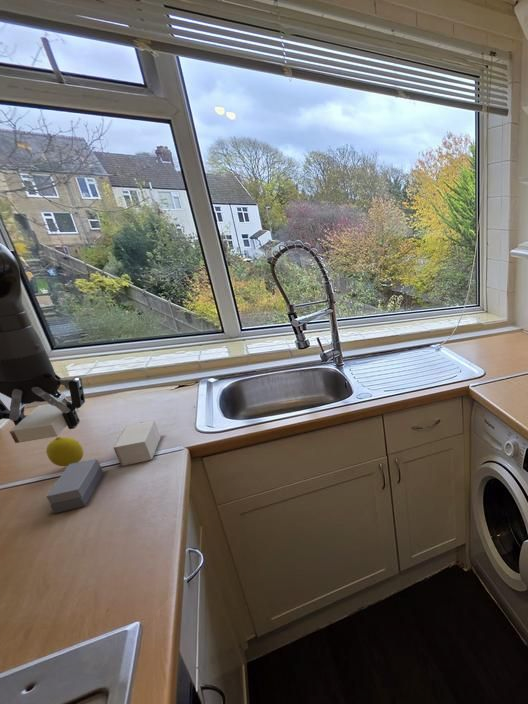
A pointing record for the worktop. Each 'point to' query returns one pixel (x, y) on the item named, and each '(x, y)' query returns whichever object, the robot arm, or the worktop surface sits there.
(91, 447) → the worktop surface
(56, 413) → the cream flat slab
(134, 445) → the white block
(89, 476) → the gray block
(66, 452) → the lemon
